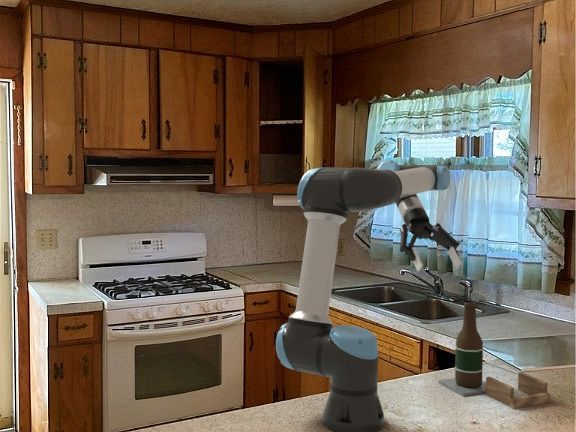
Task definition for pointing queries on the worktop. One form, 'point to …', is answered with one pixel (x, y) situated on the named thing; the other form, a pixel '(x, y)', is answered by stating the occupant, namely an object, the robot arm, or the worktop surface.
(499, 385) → the cradle
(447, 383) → the coaster
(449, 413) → the worktop surface
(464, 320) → the beer bottle
